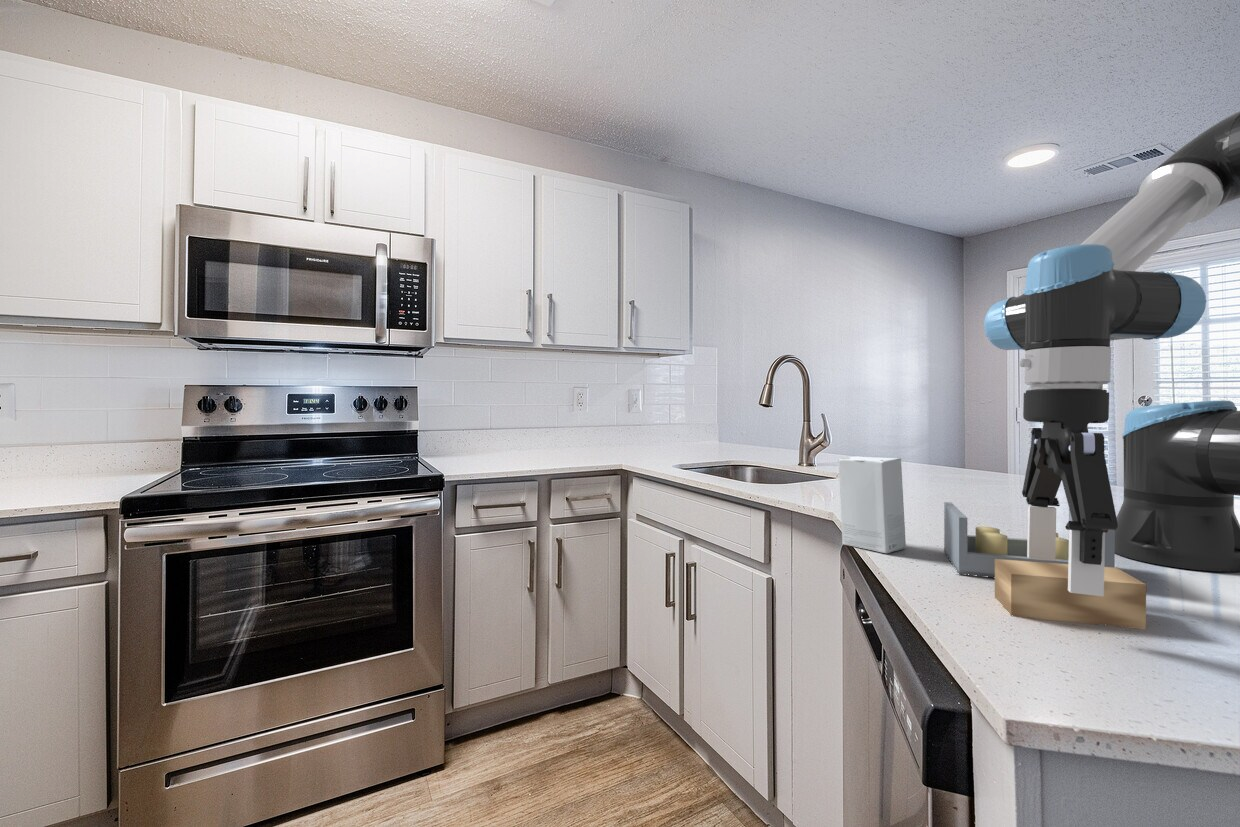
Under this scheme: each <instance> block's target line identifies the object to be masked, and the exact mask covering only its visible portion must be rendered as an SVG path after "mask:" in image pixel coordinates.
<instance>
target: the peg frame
mask: <svg viewBox="0 0 1240 827" xmlns="http://www.w3.org/2000/svg"><path fill="white" fill-rule="evenodd" d="M943 504H944V505H943V506H944V507H943V512H944V513H943V519H944V523H943V525H944V528H943V531H944V532H943V533H944V534H943V542H944V543H943V546H944V548H943V549H944V550H943V552H945V553H946V554H945V553H944V554H945V556H946V555H947V556H948V557H947V556H946V557H947V559H948V558H949V559H950V560H949V559H948V560H949V561H951V562H952V563H951V562H950V563H951V565H952V564H953V565H954V566H953V565H952V566H953V568H954V567H955V568H956V569H955V568H954V569H955V571H956V570H957V571H956V572H957V574H958V573H959V574H966V575H968V574H969V575H977V576H988V577H995V559H1002V560H1016V561H1030V562H1044V563H1058V564H1068V559H1069V539H1067V538H1064V537H1063V538H1062V537H1059V533H1058V532H1056V552H1055V561H1053V560H1042V559H1031V558H1028V557H1027V538H1015V537H1008V535H1005V534H1003V533H1001V530H1000V529H999V528H996V527H992V526H975V535H973V534H968V516H966V515H965V514H964V513H963V512H962V511H961V510H960V509H959V508H958V507H957V506H956V505H955V504H954V503H953V502H951V501H950V502H949V501H947V502H946V501H945V502H943ZM1068 521H1072V517H1071V513H1070V509H1069V508H1068ZM1115 555H1116V553H1115V530H1108V532H1107V533H1105V563H1104V567H1114V568H1116V566H1115V557H1116V556H1115ZM959 574H958V575H959ZM966 575H965V576H966ZM977 576H976V577H977ZM988 577H987V578H988Z"/></svg>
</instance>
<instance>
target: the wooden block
mask: <svg viewBox="0 0 1240 827" xmlns="http://www.w3.org/2000/svg"><path fill="white" fill-rule="evenodd" d="M994 599H995V600H996V599H997V600H998V601H999V602H1000V603H1001V604H1002V605H1003V606H1002V605H1001V604H1000V603H999V602H998V601H997V600H996V601H997V602H998V603H999V604H1000V605H1001V606H1002V608H1004V609H1006V610H1007V611H1008V612H1009V613H1010V614H1009V613H1008V612H1007V611H1006V610H1005V611H1006V612H1007V613H1008V614H1009V615H1010V616H1011V617H1018V616H1022V617H1021V618H1028V617H1030V618H1029V619H1038V618H1040V620H1047V621H1048V620H1049V621H1060V622H1068V623H1069V622H1070V623H1080V624H1088V625H1091V624H1092V625H1098V624H1103V625H1102V626H1108V625H1113V626H1112V627H1118V626H1122V627H1121V628H1129V627H1131V628H1130V629H1141V630H1146V629H1147V584H1146V583H1144V582H1143V581H1141V580H1140V579H1138V578H1136V577H1133V576H1132V575H1130V574H1129V573H1127V572H1125V571H1124V570H1121V569H1120V568H1118V567H1115V568H1114V567H1104V596H1095V595H1086V594H1077V593H1070V592H1069V591H1068V564H1058V563H1044V562H1030V561H1016V560H1002V559H995V578H994ZM1012 615H1013V616H1012ZM1031 617H1033V618H1031ZM1105 624H1106V625H1105ZM1114 625H1115V626H1114Z"/></svg>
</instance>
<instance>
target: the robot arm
mask: <svg viewBox="0 0 1240 827" xmlns="http://www.w3.org/2000/svg"><path fill="white" fill-rule="evenodd" d="M1237 199H1240V111H1238V112H1235V113H1233V114H1231V115H1230V116H1227V117H1226V118H1224V119H1222V120H1220V121H1219V122H1218V123H1216V124H1214V125H1213V126H1210V127H1209V128H1207V129H1206V130H1204V131H1203V132H1202V133H1201V134H1199V135H1198V136H1196V137H1194V138H1193V139H1191V140H1190V141H1188V142H1187V143H1186V144H1185V145H1183V146H1182V147H1181V148H1180V149H1178V150H1177V151H1176V152H1174V153H1173V154H1172V155H1171V156H1169V158H1167V159H1165V160H1164V161H1163V162H1162V163H1160V164H1159V165H1158V167H1156V168H1155V169H1154V170H1153V171H1152V172H1150V174H1148V175H1147V176H1146V177H1145V178H1144V180H1143V181H1142V182H1141V184H1140V187H1139V189H1138V193H1137V194H1136V195H1135V196H1134V197H1132V199H1130V200H1129V201H1128V202H1127V203H1126V204H1124V205H1123V206H1122V207H1121V208H1120V209H1119V210H1118V211H1117V212H1116V213H1114V215H1112V216H1111V217H1110V218H1109V219H1107V221H1105V222H1104V223H1103V224H1102V225H1101V226H1099V228H1097V229H1096V230H1095V231H1094V232H1093V233H1092V234H1091V235H1090V236H1088V237H1087V238H1086V239H1085V240H1084V241H1083V242H1081V244H1075V245H1067V246H1066V245H1065V246H1061V247H1057V248H1052V249H1049V250H1044V251H1042V252H1040V253H1038V254H1036V255H1034V256H1033V257H1032V258H1031V259H1030V260H1029V261H1028V264H1027V270H1026V279H1025V287H1024V288H1025V289H1024V290H1023V294H1021V295H1019V296H1010V297H1008V298H1006V299H1004V300H1003V299H1002V300H999V301H997V302H995V303H994V304H992V305H991V306H990V308H989V309H988V310H987V312H986V315H985V317H984V321H983V322H984V324H983V325H984V326H983V328H984V334H985V335H986V337H987V339H988V340H989V342H990V343H991V344H992V345H993V346H994V347H996V348H998V349H999V350H1003V351H1004V350H1005V351H1017V350H1021V351H1025V352H1024V358H1022V359H1020V360H1019V361H1018V363H1019V367H1021V368H1024V384H1025V385H1027V386H1030V389H1027V390H1025V392H1024V393H1023V402H1022V404H1023V406H1022V408H1023V410H1022V414H1023V419H1024V420H1025V421H1026V422H1030V423H1042V424H1043V425H1042V427H1032V429H1031V432H1030V434H1031V437H1030V438H1031V439H1030V449H1029V455H1028V458H1027V466H1026V470H1025V475H1024V481H1023V486H1022V490H1021V495H1022V497H1023V498H1026V499H1025V500H1026V501H1025V502H1026V503H1027V538H1026V539H1027V557H1028V558H1031V559H1042V560H1053V561H1055V552H1056V533H1057V508H1056V507H1060V506H1061V505H1060V501H1059V499H1058V497H1057V494H1058V491H1059V488H1060V486H1061V482H1062V486H1063V489H1064V493H1065V497H1066V501H1067V504H1068V510H1069V509H1070V513H1071V517H1072V521H1069V520H1068V522H1067V523H1066V525H1065V530H1068V540H1069V559H1068V591H1069V592H1070V593H1077V594H1086V595H1095V596H1104V563H1105V533H1107V532H1108V530H1115V555H1116V554H1117V555H1118V556H1119V555H1120V556H1122V557H1125V558H1129V559H1131V560H1136V561H1139V562H1144V563H1149V564H1155V565H1160V566H1165V567H1170V568H1171V567H1172V568H1173V567H1174V568H1178V569H1179V568H1180V569H1186V570H1187V569H1188V570H1196V571H1205V572H1207V571H1208V572H1228V573H1230V572H1233V573H1234V572H1240V522H1239V520H1238V518H1237V515H1236V513H1235V497H1234V496H1238V497H1239V496H1240V410H1238V407H1236V404H1235V403H1234V402H1233V401H1231V400H1222V399H1221V400H1202V401H1191V402H1178V403H1177V402H1176V403H1166V404H1157V405H1150V406H1149V405H1148V406H1142V407H1136V408H1134V409H1132V410H1130V411H1129V412H1128V413H1127V414H1126V415H1125V417H1124V418H1125V419H1124V428H1123V433H1122V435H1121V437H1122V441H1123V499H1122V500H1123V502H1122V504H1121V506H1120V509H1119V510H1118V512H1117V513H1116V508H1115V503H1114V498H1113V493H1112V488H1111V483H1110V482H1111V481H1110V477H1109V473H1108V466H1107V461H1106V457H1105V454H1106V453H1105V436H1104V434H1103V432H1102V433H1101V432H1089V429H1088V426H1089V424H1103V423H1106V422H1107V421H1108V420H1109V418H1110V392H1108V390H1107V389H1104V385H1107V384H1109V383H1111V372H1112V371H1111V369H1112V363H1111V362H1112V361H1111V360H1112V347H1111V341H1118V340H1127V339H1128V340H1129V339H1142V340H1145V341H1150V340H1159V339H1169V338H1174V337H1177V336H1180V335H1182V334H1185V333H1187V332H1188V331H1190V330H1192V328H1194V327H1195V326H1196V325H1197V324H1198V322H1199V321H1201V319H1202V317H1203V316H1204V313H1205V310H1206V305H1207V298H1206V297H1207V296H1206V293H1205V290H1204V289H1203V286H1202V285H1201V284H1200V283H1199V282H1198V281H1196V280H1195V279H1193V278H1192V277H1189V276H1186V275H1181V274H1177V273H1176V274H1175V273H1170V272H1168V271H1167V272H1165V271H1163V270H1162V271H1161V270H1160V271H1156V272H1152V271H1137V270H1138V269H1139V268H1140V267H1141V266H1142V265H1143V264H1144V263H1145V262H1147V261H1148V260H1149V259H1150V258H1151V257H1152V256H1153V255H1154V254H1156V253H1157V252H1158V251H1159V250H1160V249H1161V248H1162V247H1164V245H1166V244H1167V243H1168V242H1169V241H1170V240H1171V239H1172V238H1174V237H1175V236H1176V235H1177V234H1178V233H1179V232H1180V231H1181V230H1182V229H1184V228H1185V227H1186V226H1187V225H1188V224H1189V223H1193V222H1196V221H1197V222H1198V221H1199V220H1201V219H1204V218H1205V217H1207V216H1209V215H1210V214H1212V213H1214V211H1215V210H1216V209H1217V208H1219V207H1221V206H1222V205H1224V204H1227V203H1229V202H1232V201H1234V200H1237Z"/></svg>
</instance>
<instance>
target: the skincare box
mask: <svg viewBox="0 0 1240 827" xmlns="http://www.w3.org/2000/svg"><path fill="white" fill-rule="evenodd" d="M902 471H903V470H902V458H900V457H881V456H880V457H879V456H877V457H876V456H875V457H874V456H858V455H857V456H851V457H845V458H840V459H838V478H839V480H838V481H839V495H840V496H839V499H840V500H839V502H840V517H841V537H842V538H841V539H842V542H841V543H842V545H844V546H850V547H854V548H858V549H859V548H860V549H864V550H869V551H875V552H877V553H883V554H890V553H893V552H896V551H902V550H904V549H906V547H907V543H906V525H905V524H906V523H905V522H906V521H905V508H904V507H905V505H904V490H903V489H904V487H903V472H902Z"/></svg>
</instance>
